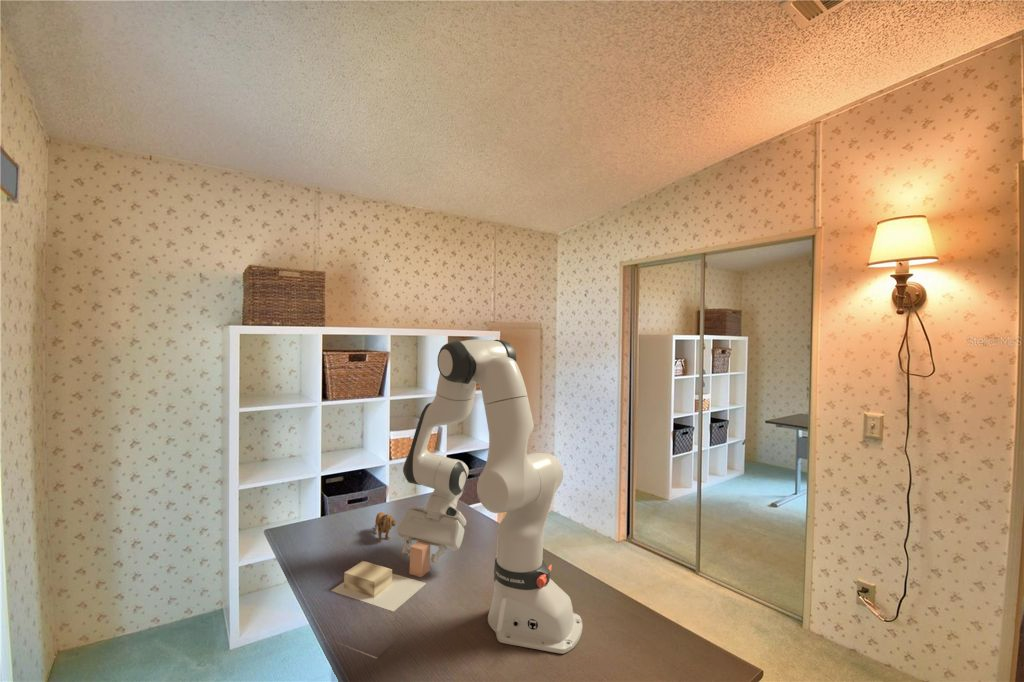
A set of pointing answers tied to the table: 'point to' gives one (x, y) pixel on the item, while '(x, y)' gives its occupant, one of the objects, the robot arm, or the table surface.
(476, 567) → the table surface
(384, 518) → the lion figurine
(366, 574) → the plinth
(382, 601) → the mat
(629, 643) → the table surface
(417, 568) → the pillar
